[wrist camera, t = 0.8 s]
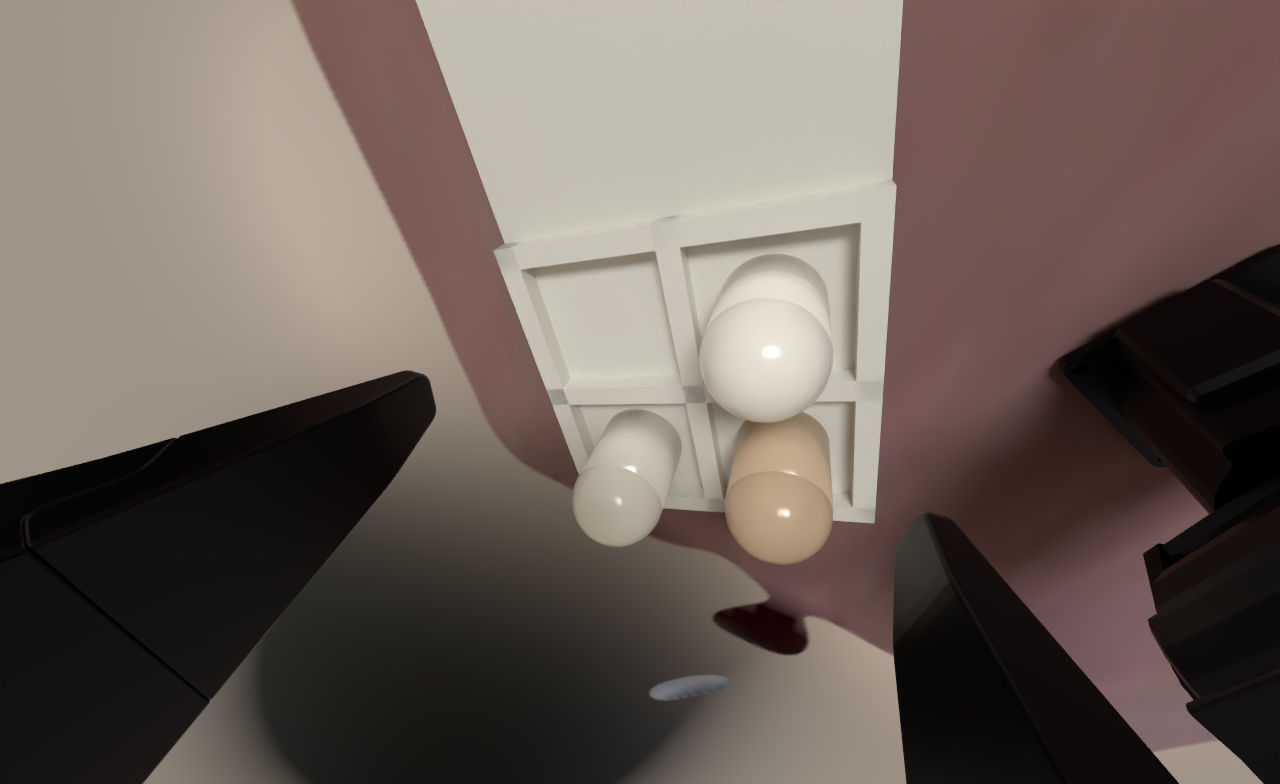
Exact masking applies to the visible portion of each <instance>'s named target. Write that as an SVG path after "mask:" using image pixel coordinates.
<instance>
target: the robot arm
mask: <svg viewBox="0 0 1280 784" xmlns="http://www.w3.org/2000/svg"><path fill="white" fill-rule="evenodd" d="M1279 264H1280V244H1278V245H1276V246H1273V247H1271V248H1269V249H1267V250H1266V251H1264V252H1262V253H1260V254H1258V255H1256V256H1254V257H1252V258H1250V259H1249V260H1247V261H1245V262H1243V263H1241V264H1239V265H1237V266H1235V267H1233V268H1231V269H1230V270H1228V271H1226V272H1224V273H1222V274H1220V275H1218V276H1216V277H1214V278H1213V279H1211V280H1209V281H1206V282H1204V283H1202V284H1200V285H1198V286H1196V287H1194V288H1192V289H1191V290H1189V291H1187V292H1185V293H1183V294H1181V295H1179V296H1177V297H1175V298H1174V299H1172V300H1170V301H1168V302H1166V303H1164V304H1162V305H1160V306H1158V307H1156V308H1155V309H1153V310H1151V311H1149V312H1147V313H1145V314H1143V315H1141V316H1139V317H1138V318H1136V319H1134V320H1132V321H1130V322H1128V323H1126V324H1124V325H1122V326H1121V327H1120V328H1118V329H1116V330H1114V331H1112V332H1110V333H1108V334H1106V335H1105V336H1103V337H1101V338H1099V339H1097V340H1095V341H1093V342H1091V343H1089V344H1087V345H1086V346H1084V347H1082V348H1080V349H1078V350H1076V351H1074V352H1072V353H1070V354H1069V355H1067V356H1066V357H1064V358H1063V359H1062V360H1061V362H1060V363H1059V368H1060V370H1061V372H1062V373H1063V374H1064V375H1065V376H1066V378H1067V379H1068V380H1069V381H1070V382H1071V383H1072V384H1073V385H1074V386H1075V387H1076V388H1077V389H1078V390H1079V391H1080V392H1081V393H1082V394H1083V395H1084V396H1085V397H1086V398H1087V399H1088V400H1089V401H1090V402H1091V403H1092V404H1093V405H1094V406H1095V407H1096V408H1097V409H1098V410H1099V411H1100V412H1101V413H1102V414H1103V415H1104V416H1105V417H1106V418H1107V419H1108V420H1109V421H1110V422H1111V423H1112V425H1113V426H1114V427H1115V428H1116V429H1117V430H1118V431H1119V432H1120V433H1121V434H1122V435H1123V436H1124V437H1125V438H1126V439H1127V440H1128V441H1129V442H1130V443H1131V444H1132V445H1133V446H1134V447H1135V448H1136V449H1137V450H1138V451H1139V452H1140V453H1141V454H1142V455H1143V456H1144V457H1145V458H1146V459H1147V460H1148V461H1149V462H1150V463H1151V464H1152V465H1154V466H1158V467H1168V468H1169V470H1170V471H1171V472H1172V473H1173V474H1174V475H1175V476H1176V477H1177V479H1178V480H1179V481H1180V482H1181V483H1182V484H1183V485H1184V486H1185V488H1186V489H1187V490H1188V491H1189V492H1190V493H1191V494H1192V495H1193V497H1194V498H1195V499H1196V500H1197V501H1198V502H1199V503H1200V504H1201V505H1202V507H1203V508H1204V509H1205V510H1206V511H1207V512H1208V513H1209V515H1208V516H1206V517H1205V518H1203V519H1202V520H1200V521H1199V522H1197V523H1196V524H1194V525H1193V526H1191V527H1190V528H1188V529H1187V530H1185V531H1184V532H1182V533H1181V534H1179V535H1177V536H1176V537H1174V538H1173V539H1171V540H1170V541H1168V542H1167V543H1165V544H1160V543H1159V544H1157V545H1155V546H1154V547H1152V548H1151V549H1149V550H1148V551H1146V552H1145V553H1143V556H1144V561H1145V565H1146V569H1147V573H1148V578H1149V582H1150V586H1151V590H1152V595H1153V599H1154V603H1155V609H1156V612H1157V614H1156V615H1154V616H1152V617H1150V618H1149V619H1148V622H1149V626H1150V629H1151V632H1152V634H1153V636H1154V638H1155V640H1156V641H1157V643H1158V645H1159V647H1160V649H1161V650H1162V652H1163V654H1164V656H1165V658H1166V659H1167V660H1168V662H1169V663H1170V664H1171V667H1172V669H1173V671H1174V672H1175V674H1176V676H1177V677H1178V679H1179V681H1180V683H1181V685H1182V686H1183V688H1184V689H1185V690H1186V691H1187V692H1188V693H1189V695H1190V696H1191V697H1192V698H1193V701H1191V702H1188V703H1186V708H1187V710H1188V712H1189V713H1190V714H1191V715H1192V716H1193V717H1194V718H1195V719H1196V720H1197V721H1198V722H1199V723H1200V724H1202V725H1203V726H1204V727H1205V728H1206V729H1207V730H1208V731H1209V732H1211V733H1212V734H1213V735H1214V736H1215V737H1216V738H1217V739H1218V740H1220V741H1221V742H1222V743H1223V744H1224V745H1225V746H1226V747H1227V748H1229V749H1230V750H1231V751H1232V752H1233V753H1234V754H1235V755H1236V756H1238V757H1239V758H1240V759H1241V760H1242V761H1243V762H1244V763H1245V764H1246V765H1247V766H1248V767H1249V768H1250V770H1251V771H1252V772H1253V773H1254V774H1255V775H1256V776H1257V777H1258V778H1259V779H1260V780H1261V781H1262V782H1263V783H1264V784H1280V266H1279ZM1079 363H1084V365H1083V366H1082V367H1080V368H1077V369H1072V368H1073V367H1074V366H1075V365H1076V364H1079ZM435 414H436V404H435V400H434V396H433V392H432V388H431V384H430V380H429V379H428V377H427V376H425V375H424V374H420V373H417V372H413V371H401V372H398V373H395V374H392V375H388V376H384V377H381V378H377V379H374V380H371V381H367V382H364V383H360V384H357V385H353V386H350V387H347V388H343V389H340V390H337V391H333V392H330V393H326V394H323V395H319V396H316V397H312V398H309V399H306V400H302V401H299V402H295V403H292V404H289V405H285V406H282V407H278V408H275V409H271V410H268V411H264V412H261V413H257V414H254V415H251V416H247V417H244V418H240V419H237V420H233V421H230V422H226V423H224V424H220V425H216V426H213V427H209V428H206V429H202V430H199V431H196V432H192V433H189V434H185V435H182V436H180V437H179V438H178V439H177V438H172V439H168V440H164V441H161V442H158V443H154V444H151V445H148V446H144V447H140V448H137V449H133V450H130V451H126V452H122V453H119V454H115V455H112V456H108V457H105V458H102V459H97V460H93V461H89V462H85V463H82V464H78V465H74V466H70V467H66V468H62V469H58V470H54V471H50V472H46V473H42V474H38V475H35V476H30V477H27V478H22V479H18V480H15V481H10V482H6V483H3V484H0V784H143V783H144V782H145V780H146V779H147V778H148V776H149V775H150V774H151V773H152V772H153V771H154V769H155V768H156V767H157V766H158V765H159V763H160V762H161V761H162V760H163V758H164V757H165V756H166V755H167V753H168V752H169V751H170V750H171V749H172V748H173V746H174V745H175V744H176V743H177V741H178V740H179V739H180V738H181V737H182V735H183V734H184V733H185V732H186V731H187V729H188V728H189V727H190V726H191V724H192V723H193V722H194V721H195V720H196V718H197V717H198V716H199V715H200V714H201V712H202V711H203V710H204V709H205V707H206V706H207V705H208V704H209V703H210V700H211V699H212V698H213V697H214V696H215V695H216V694H217V693H218V691H219V690H220V689H221V688H222V686H223V685H224V684H225V683H226V682H227V680H228V679H229V678H230V677H231V676H232V674H233V673H234V672H235V671H236V669H237V668H238V667H239V666H240V665H241V663H242V662H243V661H244V660H245V659H246V657H247V656H248V655H249V654H250V653H251V651H252V650H253V649H254V647H255V646H256V645H257V644H258V643H259V642H260V640H261V639H262V638H263V637H264V636H265V634H266V633H267V632H268V631H269V630H270V628H271V627H272V626H273V625H274V623H275V622H276V621H277V620H278V619H279V617H280V616H281V615H282V614H283V613H284V611H285V610H286V609H287V608H288V607H289V605H290V604H291V603H292V601H293V600H294V599H295V598H296V597H297V596H298V594H299V593H300V592H301V591H302V590H303V588H304V587H305V586H306V585H307V583H308V582H309V581H310V580H311V579H312V577H313V576H314V575H315V574H316V573H317V571H318V570H319V569H320V568H321V567H322V565H323V564H324V563H325V562H326V560H327V559H328V558H329V557H330V555H331V554H332V553H333V552H334V551H335V550H336V548H337V547H338V546H339V545H340V544H341V542H342V541H343V540H344V539H345V537H346V536H347V535H348V534H349V532H350V531H351V530H352V529H353V528H354V527H355V525H356V524H357V523H358V522H359V521H360V519H361V518H362V517H363V516H364V514H365V513H366V512H367V511H368V509H369V508H370V507H371V506H372V505H373V504H374V502H375V501H376V500H377V499H378V497H379V496H380V495H381V494H382V493H383V491H384V490H385V489H386V488H387V486H388V485H389V484H390V483H391V481H392V480H393V478H394V477H395V476H396V474H397V473H398V472H399V470H400V468H401V467H402V466H403V464H404V463H405V461H406V460H407V458H408V457H409V455H410V454H411V452H412V451H413V449H414V448H415V446H416V444H417V443H418V442H419V440H420V439H421V437H422V436H423V434H424V433H425V431H426V430H427V428H428V427H429V425H430V424H431V422H432V421H433V419H434V417H435ZM893 651H894V664H895V674H896V684H897V694H898V704H899V712H900V713H899V714H900V723H901V733H902V743H903V753H904V762H905V773H906V783H907V784H1179V783H1178V782H1177V780H1176V779H1175V778H1174V777H1173V776H1172V775H1171V773H1170V772H1169V771H1168V770H1167V769H1166V768H1165V767H1164V765H1163V764H1162V763H1161V762H1160V761H1159V760H1158V758H1157V757H1156V756H1155V755H1154V754H1153V753H1152V751H1151V750H1150V749H1149V748H1148V747H1147V746H1146V744H1145V743H1144V742H1143V741H1142V740H1141V739H1140V737H1139V736H1138V735H1137V734H1136V733H1135V732H1134V730H1133V729H1132V728H1131V727H1130V726H1129V725H1128V723H1127V722H1126V721H1125V720H1124V719H1123V718H1122V717H1121V715H1120V714H1119V713H1118V712H1117V711H1116V710H1115V708H1114V707H1113V706H1112V705H1111V704H1110V703H1109V701H1108V700H1107V699H1106V698H1105V697H1104V696H1103V694H1102V693H1101V692H1100V691H1099V690H1098V689H1097V687H1096V686H1095V685H1094V684H1093V683H1092V682H1091V680H1090V679H1089V678H1088V677H1087V676H1086V675H1085V674H1084V672H1083V671H1082V670H1081V669H1080V668H1079V667H1078V665H1077V664H1076V663H1075V662H1074V661H1073V660H1072V658H1071V657H1070V656H1069V655H1068V654H1067V653H1066V651H1065V650H1064V649H1063V648H1062V647H1061V646H1060V644H1059V643H1058V642H1057V641H1056V640H1055V639H1054V637H1053V636H1052V635H1051V634H1050V633H1049V632H1048V631H1047V629H1046V628H1045V627H1044V626H1043V625H1042V624H1041V622H1040V621H1039V620H1038V619H1037V618H1036V617H1035V615H1034V614H1033V613H1032V612H1031V611H1030V610H1029V608H1028V607H1027V606H1026V605H1025V604H1024V603H1023V601H1022V600H1021V599H1020V598H1019V597H1018V596H1017V594H1016V593H1015V592H1014V591H1013V590H1012V589H1011V588H1010V586H1009V585H1008V584H1007V583H1006V582H1005V581H1004V579H1003V578H1002V577H1001V576H1000V575H999V574H998V572H997V571H996V570H995V569H994V568H993V567H992V565H991V564H990V563H989V562H988V561H987V560H986V558H985V557H984V556H983V555H982V554H981V553H980V551H979V550H978V549H977V548H976V547H975V546H974V545H973V543H972V542H971V541H970V540H969V539H968V538H967V536H966V535H965V534H964V533H963V532H962V531H961V529H960V528H959V527H958V526H957V525H956V524H955V523H954V522H953V521H952V520H951V519H950V518H948V517H945V516H941V515H938V514H934V513H930V512H927V511H922V512H919V513H918V514H917V515H916V516H915V517H914V519H913V520H912V522H911V523H910V525H909V526H908V528H907V529H906V531H905V532H904V534H903V535H902V537H901V538H900V540H899V541H898V543H897V546H896V550H895V564H894V613H893Z"/></svg>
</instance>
